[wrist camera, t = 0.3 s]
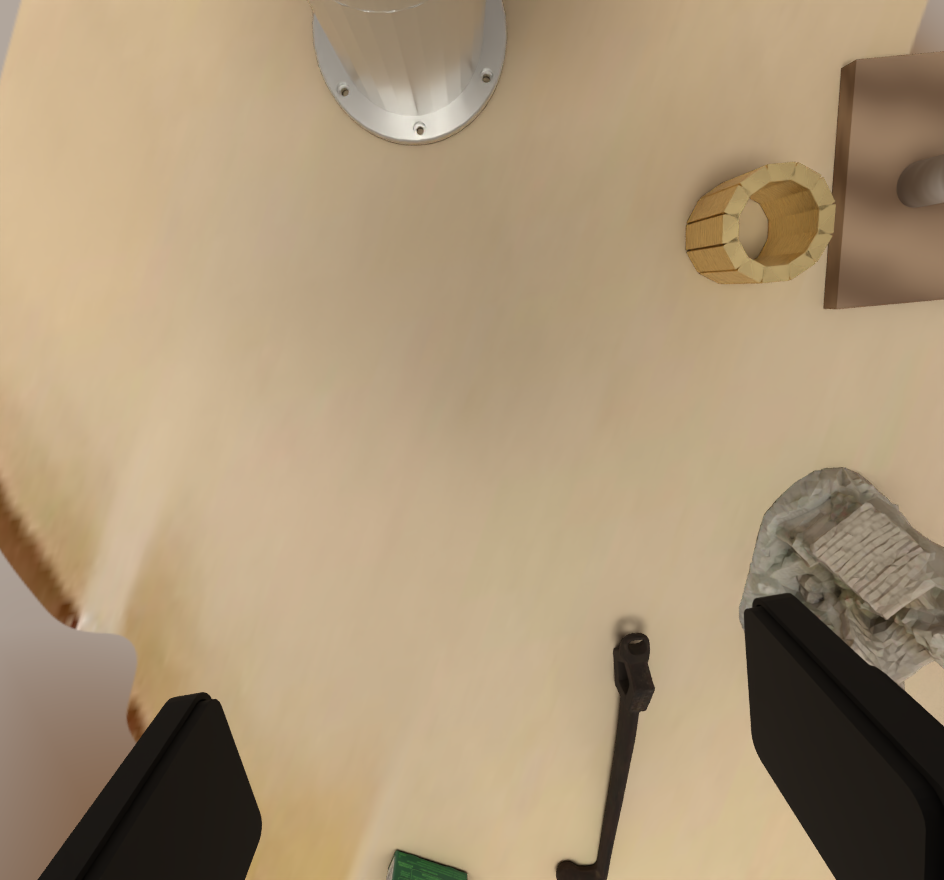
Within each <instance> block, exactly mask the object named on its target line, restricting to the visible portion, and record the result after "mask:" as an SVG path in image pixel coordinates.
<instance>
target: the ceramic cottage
mask: <svg viewBox="0 0 944 880" xmlns="http://www.w3.org/2000/svg"><path fill="white" fill-rule="evenodd" d="M749 572H750V573H749V575H748V579H747V581H746V584H745V588H744V593H743V596H742V599H741V603H740V606H739V620H740V623H741V625H742V628H743V629H744V611H745V609H747V608H752V603H753V600H754V599H755V598H759V597H765V596H770V595H776V594H782V593H791V594H792V595H794V596H795V597H796V598H797V599H799V600H800V601H801V602H802V603H803V604H804V605H805V606H806V607H807V608H808V609H809V610H810V611H812V612H813V613H814V614H815V615H816V616H817V617H818V618H819V619H820V620H821V621H822V622H823V623H825V624H826V625H827V626H828V627H829V628H830V629H831V630H832V631H833V632H834V633H835V634H836V635H838V636H839V637H840V638H841V639H842V640H843V641H844V642H845V643H846V644H847V645H848V646H849V647H851V648H852V649H853V650H854V651H855V652H856V653H857V654H858V655H859V656H860V657H861V658H862V659H864V660H865V661H866V662H867V663H868V664H869V665H872V666H875V667H877V668H879V669H880V670H881V671H883V672H884V673H886V674H887V675H888V676H889V677H890V678H891V679H892V680H893V681H894V682H896V683H897V684H898V685H899V686H900V687H901V688H902V689H903V690H904V691H905V685H904V680H906V679H908V678H909V677H911V676H912V675H914V674H915V673H916V672H917V671H919V670H920V669H921V668H922V667H923V666H925V665H927V664H929V663H931V662H933V661H936V662H937V663H938V664H939V665H940V666H941V667H942V668H944V547H942V546H940V545H938V544H936V543H934V542H932V541H931V540H929V539H928V538H926V537H925V536H923V535H922V534H921V533H919V532H918V531H917V530H915V529H914V528H913V527H912V526H911V525H910V523H909V522H908V521H907V519H906V518H905V517H904V515H903V514H902V513H901V512H900V511H899V507H898V505H896V504H892V503H891V502H890V501H889V500H888V498H886V497H885V496H884V495H883V494H881V493H880V492H879V491H878V490H877V489H876V488H875V487H874V486H873V485H872V484H871V483H870V482H869V481H868V480H866V479H865V478H864V477H862V476H861V475H860V474H859V473H856V472H853V471H851V470H849V469H846V468H843V467H841V468H825V469H822V470H819V471H813V472H812V473H810V474H808V475H807V476H805V477H803V478H802V479H800V480H798V481H797V482H795V483H794V484H793V485H792V486H791V487H790V488H789V489H787V490H786V491H785V492H784V493H783V494H782V495H781V496H780V497H779V498H778V499H777V500H776V503H774V504H773V506H772V507H771V508H770V509H769V510H768V511H767V512H766V514H765V515H764V516H763V520H762V525H761V527H760V531H759V535H758V539H757V543H756V548H755V550H754V554H753V558H752V563H751V564H750V571H749ZM744 630H745V629H744ZM905 692H906V691H905Z"/></svg>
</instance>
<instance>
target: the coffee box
mask: <svg viewBox="0 0 944 880" xmlns="http://www.w3.org/2000/svg"><path fill="white" fill-rule="evenodd" d="M386 880H467V873H464V872H461V871H458V870H456V869H454V868H452V867H446V866H443V865H439V864H436V863H434V862H430V861H427V860H424V859H421V858H418V857H417V856H414V855H411V854H406V853H403V852H400V851H398V850H397V851H396V852H395V854H394V856H393V859H392V861H391V864H390V866H389V868H388V873H387V879H386Z"/></svg>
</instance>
